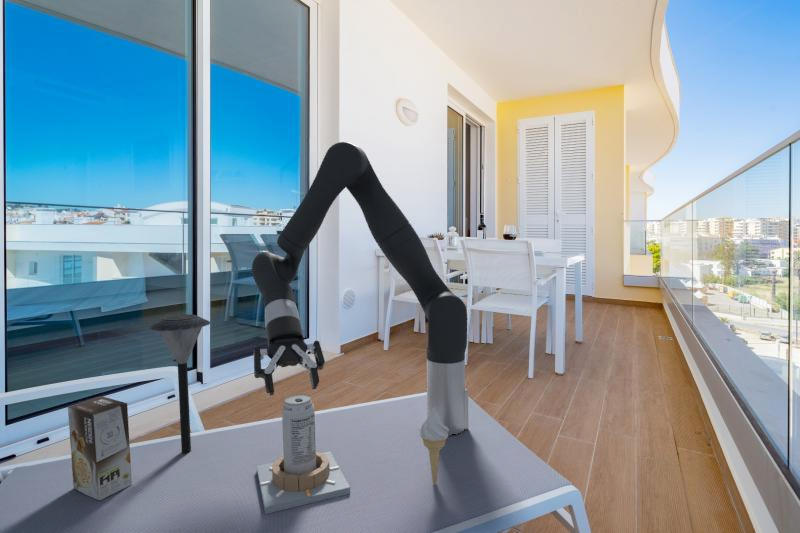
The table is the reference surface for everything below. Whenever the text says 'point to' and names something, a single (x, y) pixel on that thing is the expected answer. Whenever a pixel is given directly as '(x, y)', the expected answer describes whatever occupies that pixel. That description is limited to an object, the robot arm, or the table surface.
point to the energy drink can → (299, 435)
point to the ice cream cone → (434, 439)
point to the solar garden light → (181, 359)
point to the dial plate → (300, 484)
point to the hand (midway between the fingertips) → (293, 390)
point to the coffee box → (100, 446)
